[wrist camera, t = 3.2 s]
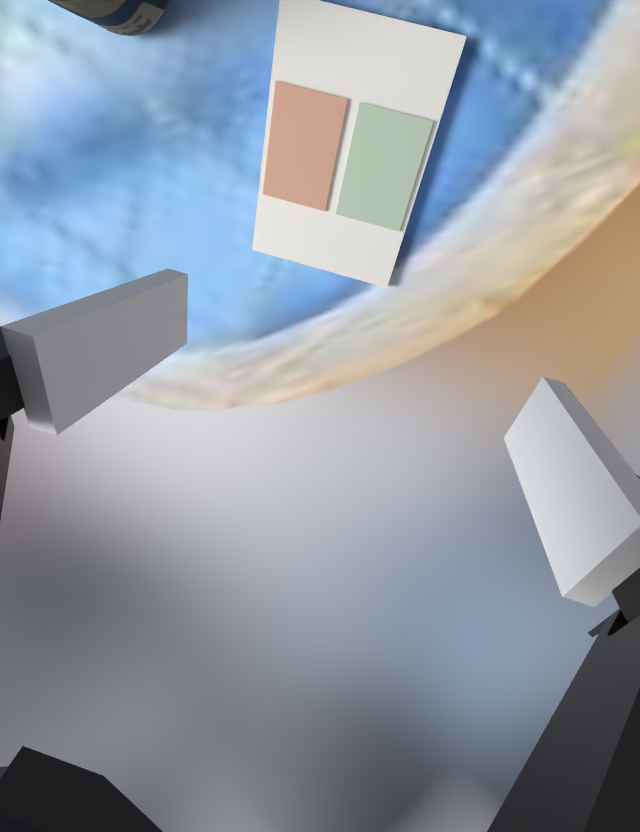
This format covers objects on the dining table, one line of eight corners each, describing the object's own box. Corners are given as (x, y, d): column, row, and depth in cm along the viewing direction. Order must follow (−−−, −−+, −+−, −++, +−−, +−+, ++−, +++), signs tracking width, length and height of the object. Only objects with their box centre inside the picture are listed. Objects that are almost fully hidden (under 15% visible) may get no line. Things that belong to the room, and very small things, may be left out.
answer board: (284, -4, 28) (279, -12, 27) (464, 40, 27) (467, 34, 26) (255, 248, 38) (251, 250, 37) (387, 285, 37) (386, 288, 36)
